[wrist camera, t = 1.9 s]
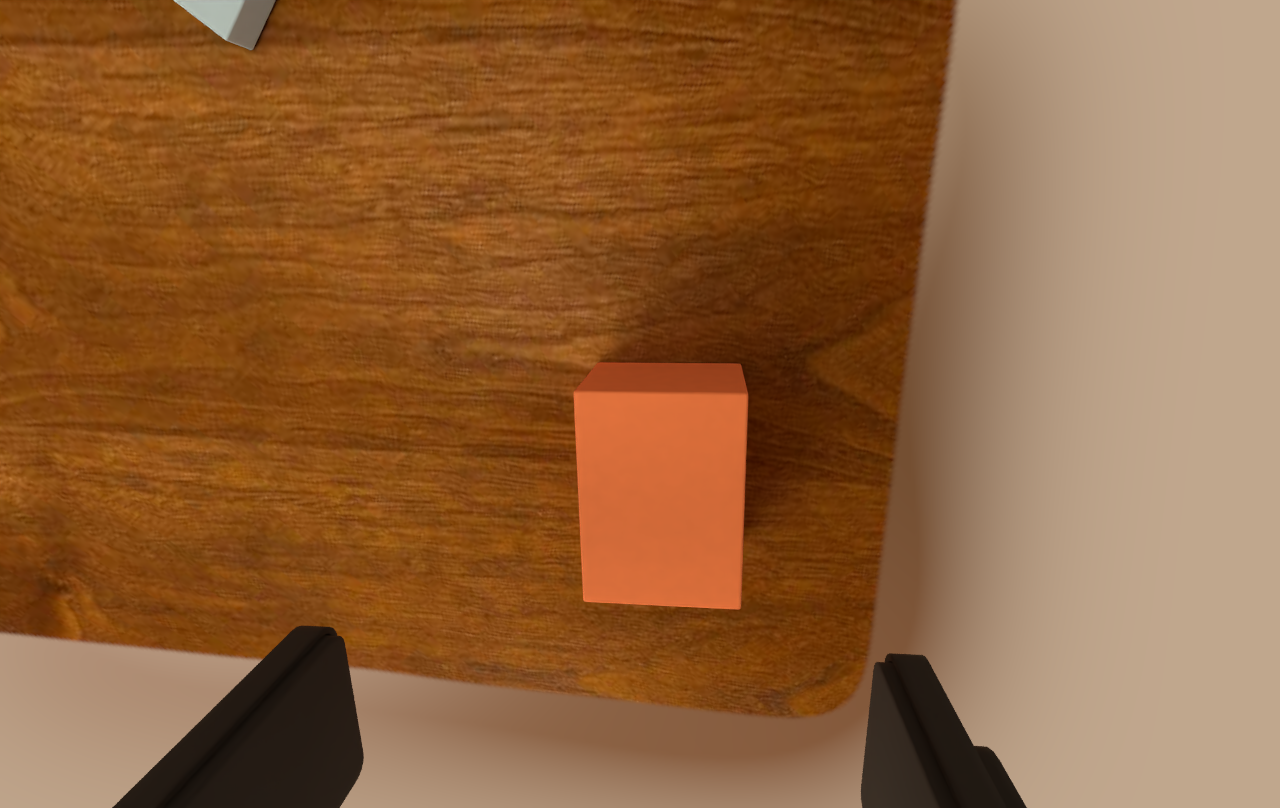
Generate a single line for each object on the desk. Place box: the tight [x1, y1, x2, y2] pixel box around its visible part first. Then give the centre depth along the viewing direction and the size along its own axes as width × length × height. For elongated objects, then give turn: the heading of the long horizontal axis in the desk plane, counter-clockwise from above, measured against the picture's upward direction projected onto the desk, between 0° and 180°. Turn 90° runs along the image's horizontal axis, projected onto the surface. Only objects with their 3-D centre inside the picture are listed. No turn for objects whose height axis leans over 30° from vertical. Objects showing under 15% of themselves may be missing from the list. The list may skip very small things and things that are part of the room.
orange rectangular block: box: [574, 362, 748, 609], centre depth 20 cm, size 5×7×4 cm
